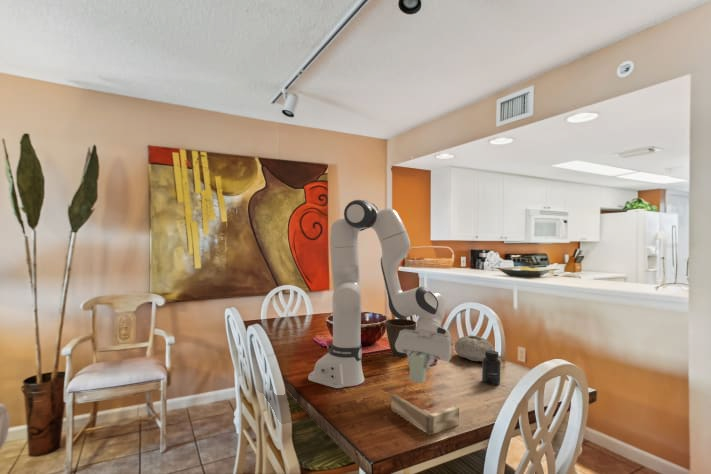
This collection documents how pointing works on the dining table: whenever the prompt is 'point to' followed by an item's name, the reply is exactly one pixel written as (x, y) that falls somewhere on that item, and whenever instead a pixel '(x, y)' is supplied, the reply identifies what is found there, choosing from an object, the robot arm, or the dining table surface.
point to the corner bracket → (425, 416)
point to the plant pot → (397, 332)
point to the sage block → (417, 367)
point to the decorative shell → (472, 347)
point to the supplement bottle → (491, 368)
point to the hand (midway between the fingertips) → (417, 366)
